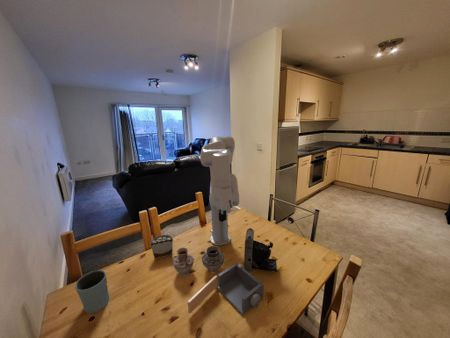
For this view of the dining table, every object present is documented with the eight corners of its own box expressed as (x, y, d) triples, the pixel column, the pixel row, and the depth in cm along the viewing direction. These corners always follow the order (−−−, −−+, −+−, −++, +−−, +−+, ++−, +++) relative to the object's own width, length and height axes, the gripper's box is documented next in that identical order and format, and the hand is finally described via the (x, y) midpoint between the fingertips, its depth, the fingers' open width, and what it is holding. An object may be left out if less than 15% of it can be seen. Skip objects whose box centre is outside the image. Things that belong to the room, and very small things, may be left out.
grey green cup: (106, 311, 75) (101, 286, 72) (76, 319, 72) (69, 293, 69) (113, 290, 84) (108, 267, 81) (87, 296, 82) (81, 272, 79)
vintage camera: (276, 280, 88) (280, 242, 83) (243, 274, 91) (244, 237, 86) (275, 265, 97) (278, 230, 93) (245, 260, 100) (246, 226, 96)
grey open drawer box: (216, 288, 84) (216, 274, 82) (237, 273, 92) (237, 260, 90) (245, 319, 70) (245, 303, 69) (267, 299, 78) (267, 285, 76)
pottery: (175, 265, 98) (173, 245, 95) (223, 259, 102) (222, 239, 99) (172, 283, 87) (170, 260, 85) (226, 275, 91) (226, 253, 88)
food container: (174, 247, 112) (172, 232, 110) (175, 254, 106) (173, 238, 104) (152, 252, 108) (149, 236, 106) (151, 259, 103) (149, 243, 100)
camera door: (214, 283, 85) (214, 274, 83) (217, 286, 84) (217, 276, 82) (186, 310, 73) (185, 299, 72) (190, 313, 72) (189, 302, 71)
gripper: (204, 179, 84) (206, 216, 89) (225, 189, 73) (226, 231, 78) (218, 175, 89) (219, 211, 94) (240, 184, 77) (240, 224, 82)
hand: (222, 220), depth 86 cm, fingers closed
